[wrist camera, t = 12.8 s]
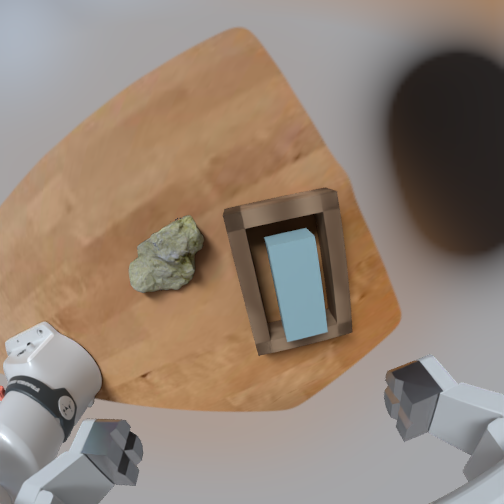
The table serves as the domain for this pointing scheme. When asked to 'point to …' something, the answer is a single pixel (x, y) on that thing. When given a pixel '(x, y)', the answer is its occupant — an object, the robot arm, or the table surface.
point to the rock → (167, 257)
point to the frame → (332, 254)
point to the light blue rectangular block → (297, 283)
